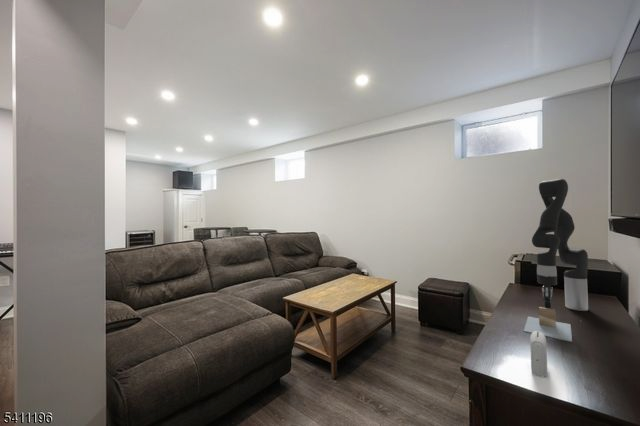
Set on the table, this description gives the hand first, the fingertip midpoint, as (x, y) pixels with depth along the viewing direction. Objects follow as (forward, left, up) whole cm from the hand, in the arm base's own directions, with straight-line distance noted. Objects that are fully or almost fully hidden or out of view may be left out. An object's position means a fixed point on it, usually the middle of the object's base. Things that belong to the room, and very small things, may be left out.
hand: (547, 309), depth 132 cm
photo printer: (+55, -1, -6) cm, 55 cm away
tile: (+8, 0, -6) cm, 10 cm away
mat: (+11, 0, -6) cm, 12 cm away
